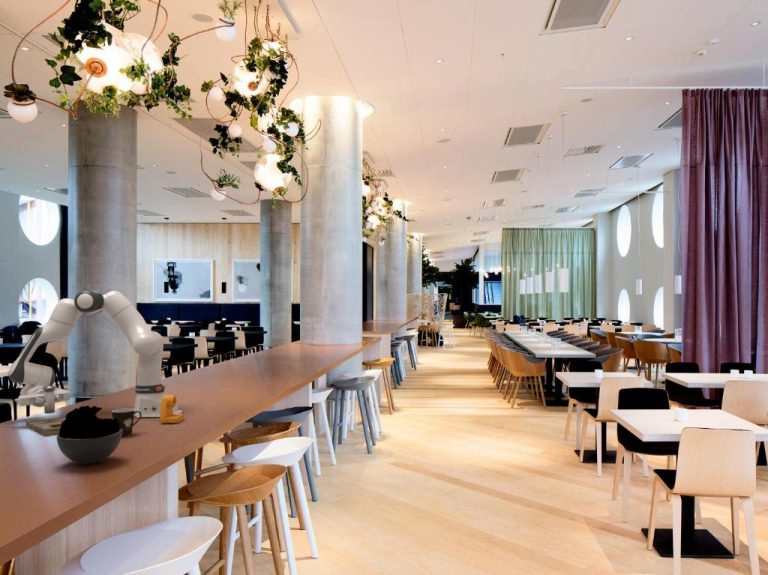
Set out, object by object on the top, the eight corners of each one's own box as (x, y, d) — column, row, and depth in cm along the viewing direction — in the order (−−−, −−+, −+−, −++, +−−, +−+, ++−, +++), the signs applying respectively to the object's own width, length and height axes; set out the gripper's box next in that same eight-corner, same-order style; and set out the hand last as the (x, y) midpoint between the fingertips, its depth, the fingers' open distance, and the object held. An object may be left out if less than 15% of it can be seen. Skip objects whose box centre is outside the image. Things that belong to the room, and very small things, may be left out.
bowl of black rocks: (92, 453, 223) (92, 400, 223) (135, 458, 215) (135, 403, 215) (42, 467, 204) (42, 409, 205) (87, 473, 197) (87, 414, 197)
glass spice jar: (58, 411, 270) (58, 385, 270) (50, 413, 265) (50, 387, 265) (48, 411, 271) (48, 385, 271) (40, 413, 266) (40, 387, 266)
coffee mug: (112, 438, 246) (112, 413, 246) (110, 434, 253) (110, 409, 254) (143, 435, 251) (143, 410, 251) (141, 431, 259) (141, 407, 259)
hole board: (26, 427, 267) (26, 421, 267) (61, 422, 277) (61, 416, 277) (44, 436, 250) (44, 429, 250) (81, 431, 260) (81, 424, 260)
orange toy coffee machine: (176, 424, 273) (176, 397, 273) (159, 424, 273) (159, 397, 273) (184, 419, 283) (184, 393, 284) (168, 419, 283) (168, 393, 284)
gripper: (13, 392, 270) (23, 395, 260) (63, 386, 284) (74, 389, 275) (13, 407, 270) (23, 411, 260) (63, 400, 284) (75, 404, 275)
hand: (50, 399), depth 267 cm, fingers closed on glass spice jar, 4 cm apart
